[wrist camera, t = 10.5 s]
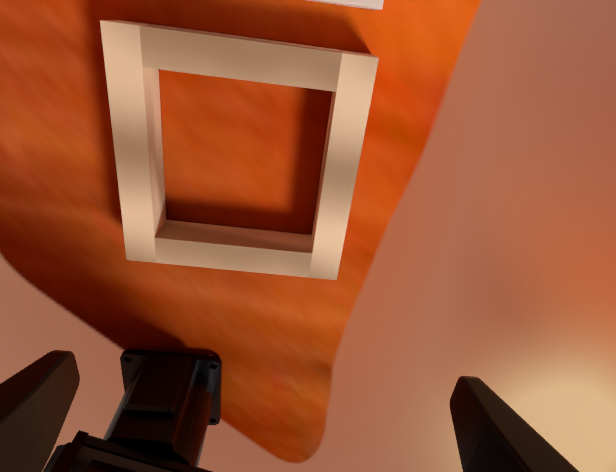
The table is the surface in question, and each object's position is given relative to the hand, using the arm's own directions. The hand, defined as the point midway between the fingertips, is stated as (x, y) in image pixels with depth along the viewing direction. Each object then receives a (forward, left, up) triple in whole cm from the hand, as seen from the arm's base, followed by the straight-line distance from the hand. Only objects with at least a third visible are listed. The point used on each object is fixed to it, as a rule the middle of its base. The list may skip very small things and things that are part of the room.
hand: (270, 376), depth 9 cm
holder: (+1, +2, -13) cm, 13 cm away
